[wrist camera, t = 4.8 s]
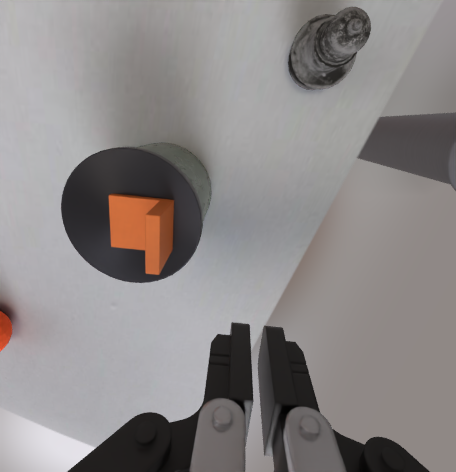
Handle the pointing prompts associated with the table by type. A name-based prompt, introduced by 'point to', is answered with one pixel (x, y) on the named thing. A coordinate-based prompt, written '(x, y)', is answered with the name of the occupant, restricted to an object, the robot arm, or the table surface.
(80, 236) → the green lidded canister
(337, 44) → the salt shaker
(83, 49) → the table surface
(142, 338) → the table surface
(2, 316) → the clementine
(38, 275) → the table surface
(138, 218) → the lid slider
